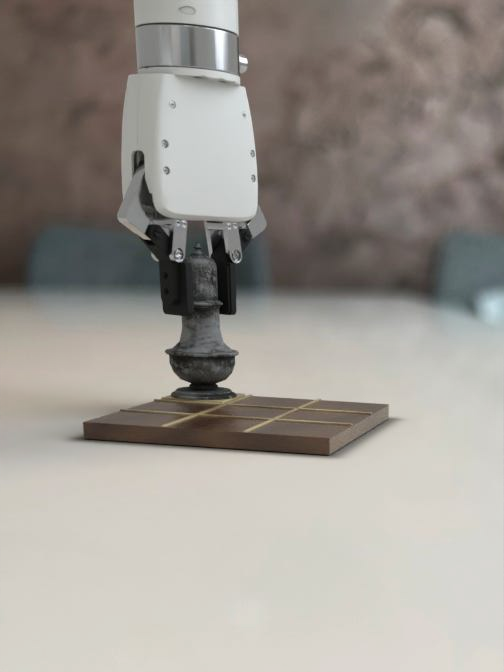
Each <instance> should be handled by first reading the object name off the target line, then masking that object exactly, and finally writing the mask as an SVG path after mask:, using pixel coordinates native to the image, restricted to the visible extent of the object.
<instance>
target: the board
mask: <svg viewBox="0 0 504 672" xmlns="http://www.w3.org/2000/svg"><path fill="white" fill-rule="evenodd" d="M235 393H236V394H237V396H236V397H234V398H229V399H219V400H193V399H182V398H176V397H172V396H171V394H168V395H165V396H162V397H160V398H154V399H153V400H152V401H149V402H145V403H143V404H139V405H136V406H132V407H129V408H120V409H119V411H116V412H112V413H109V414H105V415H102V416H98V417H95V418H91V419H88V420H85V421H83V422H82V429H83V439H85V440H98V441H112V442H126V443H140V444H141V443H143V444H157V445H172V446H188V447H199V448H200V447H201V448H215V449H216V448H217V449H230V450H246V451H247V450H248V451H258V452H259V451H260V452H261V451H263V452H275V453H276V452H277V453H292V454H307V455H322V456H331V455H332V454H334V453H335V452H337V451H338V450H340V449H342V448H343V447H345V446H346V445H348V444H350V443H352V442H353V441H354V440H356V439H358V438H359V437H361V436H362V435H364V434H366V433H367V432H369V431H370V430H372V429H374V428H376V427H377V426H379V425H380V424H382V423H384V422H385V421H387V420H388V419H389V417H390V404H388V403H376V402H359V401H345V400H344V401H343V400H342V401H341V400H328V399H327V400H326V399H322V398H316V399H311V398H310V399H309V398H295V397H277V396H276V397H275V396H261V395H260V396H259V395H253V394H247V395H246V393H242V392H241V393H239V392H235Z"/></svg>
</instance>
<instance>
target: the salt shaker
mask: <svg viewBox="0 0 504 672" xmlns="http://www.w3.org/2000/svg"><path fill="white" fill-rule="evenodd" d="M192 248H193V249H194V252H191V254H189V255H187V256H186V255H185V259H184V262H185V263H191V266H192V276H193V298H194V313H193V314H192V316H181V333H180V337H179V341H178V342H177V343H176V344H175V345H174V346H172V348H171V347H170V348H166V349H165V350H164V353H165V354H166V355H168V358H169V359H168V360H169V361H168V362H169V365H170V367H171V369H172V372H173V374H175V375H176V376H177V377H178V378H179V380H181V381H184V382H187V383H190V384H189V385H188V386H182V387H180V386H179V387H177V388H176V389H175V390H174V391H172V392H171V393H170V395H171V396H172V397H176V398H182V399H193V400H219V399H229V398H234V397H236V396H237V394H236V393H237V392H235V391H233V390H231V388H228V387H223V386H219V385H218V383H221V382H224V381H226V380H227V379H228V378H229V377H230V376H231V375H232V374H233V371H234V369H235V367H236V356H239V354H240V352H239V351H238V350H236V349H232V348H231V347H230V346H229V345H227V344H226V343H225V342H224V338H223V335H222V331H221V321H220V320H221V319H220V314H219V307H220V305H223V303H222V302H221V301H219V300H218V289H217V267H216V263H215V262H214V260H213V259H211V258H210V256H209V255H206V254H205V253H204V252H202V251H201V250H202V248H203V247H202V246H201V243H199V241H196V242H195V244H194V246H193V247H192Z"/></svg>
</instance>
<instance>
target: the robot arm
mask: <svg viewBox="0 0 504 672" xmlns="http://www.w3.org/2000/svg"><path fill="white" fill-rule="evenodd" d="M133 14H134V15H133V17H134V28H135V30H134V31H135V32H134V33H135V46H136V47H135V51H136V65H137V67H136V69H137V73H133V74H132V73H131V74H128V77H127V81H126V86H125V93H124V101H123V108H122V110H123V111H122V119H121V120H122V122H121V150H120V151H121V153H120V154H121V156H120V162H121V168H120V169H121V170H120V171H121V172H120V173H121V190H122V192H121V193H122V201H121V203H120V206H119V207H118V211H117V214H116V218H117V220H118V222H119V223H121V224H122V225H123V226H124V227H126V228H127V229H128V230H130V231H131V232H132V233H133V234H135V235H137V236H138V238H139V239H140V240H141V241H142V243H143V244H144V245H145V246H146V248H147V249H148V250H149V251H150V255H151V258H152V259H153V260H154V261H156V262H158V269H159V271H158V272H159V273H158V274H159V287H160V288H159V289H160V290H159V291H160V299H161V302H162V303H161V304H162V311H163V313H164V315H169V316H178V317H182V316H192V314H193V313H194V298H193V276H192V266H191V263H185V262H184V259H185V257H186V248H187V234H188V221H191V222H193V221H194V222H196V221H197V222H203V225H204V231H205V237H206V244H207V251H208V257H210V258H211V259H213V260H214V262H215V263H216V267H217V289H218V300H219V301H221V302H222V303H223V305H220V307H219V315H224V316H235V315H236V314H237V277H236V276H237V274H236V273H237V271H236V264H240V263H241V261H242V260H243V252H244V251H245V250H246V249H247V247H248V246H249V244H250V243H251V241H252V239H254V238H256V237H257V236H258V235H259V234H260V233H262V232H264V231H265V229H266V228H267V225H268V222H267V219H266V216H265V214H264V212H263V211H262V208H261V206H260V204H259V181H258V179H259V177H258V162H257V152H256V151H257V150H256V142H255V134H254V127H253V126H254V125H253V119H252V114H251V108H250V104H249V99H248V95H247V90H246V87H245V86H243V85H241V74H244V73H246V72H247V70H248V66H249V61H248V57H246V55H244V54H241V53H240V38H239V36H240V35H239V34H240V31H239V30H240V29H239V28H240V27H239V0H133ZM151 219H152V220H151Z"/></svg>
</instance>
